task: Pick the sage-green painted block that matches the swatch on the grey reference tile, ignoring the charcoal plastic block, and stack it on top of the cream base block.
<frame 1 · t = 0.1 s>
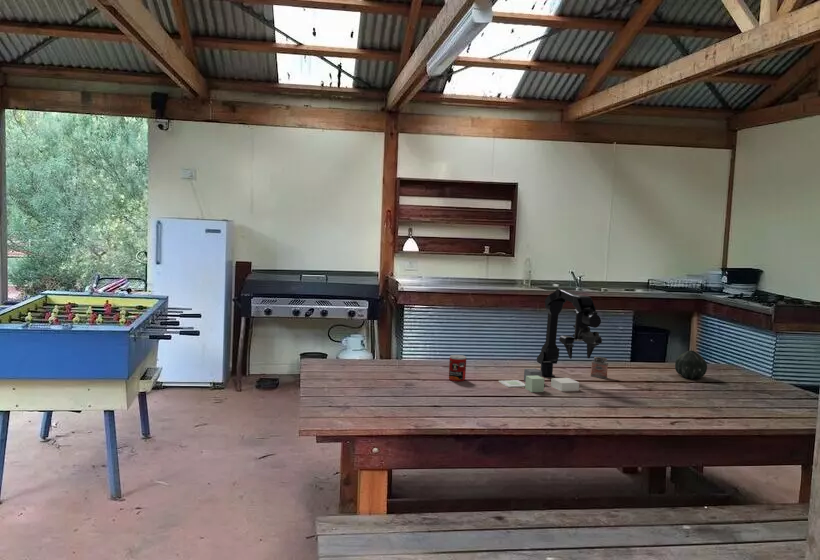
hand: (579, 358, 287), 15 cm above the table, fingers open, 9 cm apart
lighter: (598, 377, 318), on the table
sage block: (534, 390, 286), on the table
canned food: (456, 380, 299), on the table
reference tile: (513, 384, 295), on the table
charcoal block: (532, 382, 300), on the table
base block: (564, 389, 292), on the table
squash: (690, 377, 326), on the table
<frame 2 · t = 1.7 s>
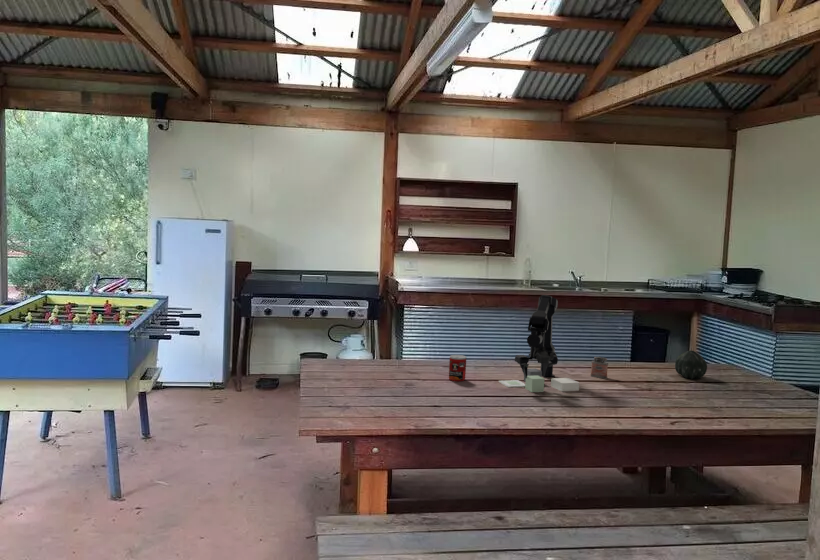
hand: (535, 377, 285), 6 cm above the table, fingers open, 9 cm apart
nothing on the table moved.
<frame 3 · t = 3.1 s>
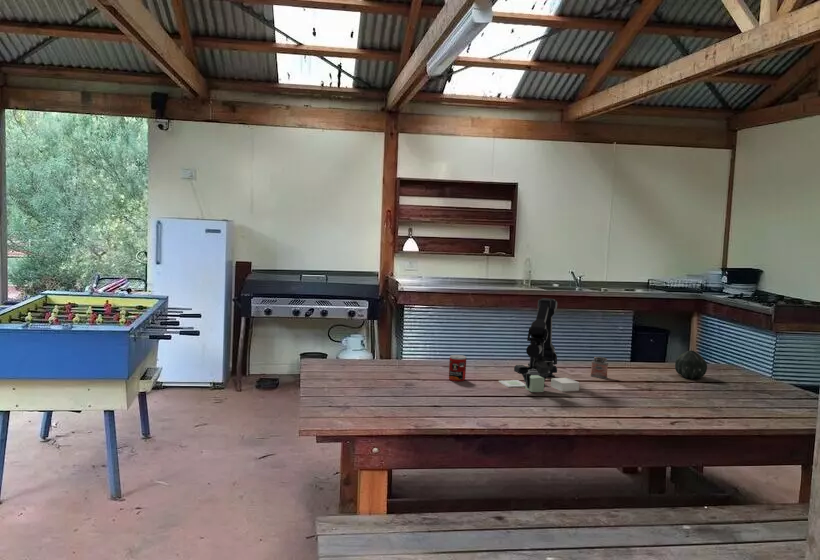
hand: (534, 387, 286), 1 cm above the table, fingers closed on sage block, 6 cm apart
sage block: (534, 390, 286), on the table, touching gripper
everything else where it was.
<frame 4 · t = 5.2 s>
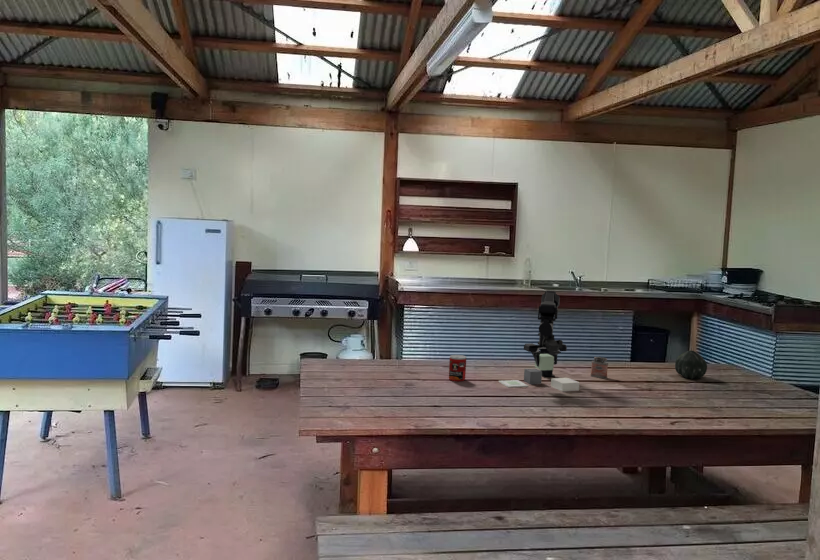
hand: (544, 366, 287), 11 cm above the table, fingers closed on sage block, 6 cm apart
sage block: (543, 368, 287), point 10 cm above the table, touching gripper
everything else where it was.
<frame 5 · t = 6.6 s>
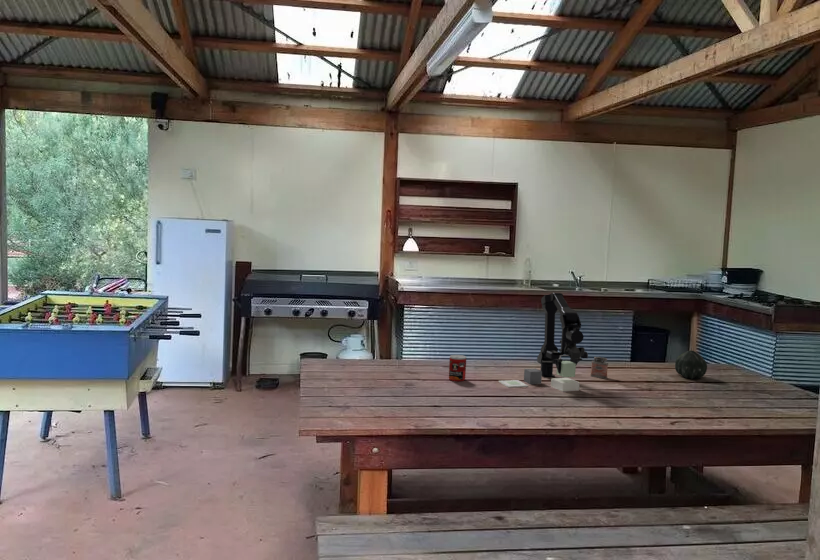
hand: (565, 373, 291), 7 cm above the table, fingers closed on sage block, 6 cm apart
sage block: (565, 375, 291), point 6 cm above the table, touching gripper
everything else where it was.
when the fingers open (6 cm above the table, at t = 7.5 s): sage block drops 2 cm, resting on base block.
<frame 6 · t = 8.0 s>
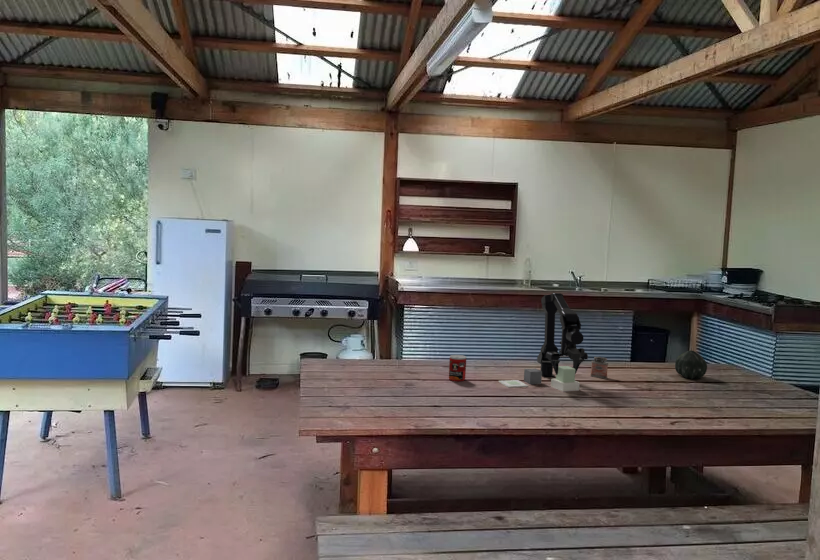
hand: (565, 374, 291), 6 cm above the table, fingers open, 9 cm apart
sage block: (565, 380, 291), point 4 cm above the table, touching base block
base block: (564, 389, 292), on the table, touching sage block
everything else where it was.
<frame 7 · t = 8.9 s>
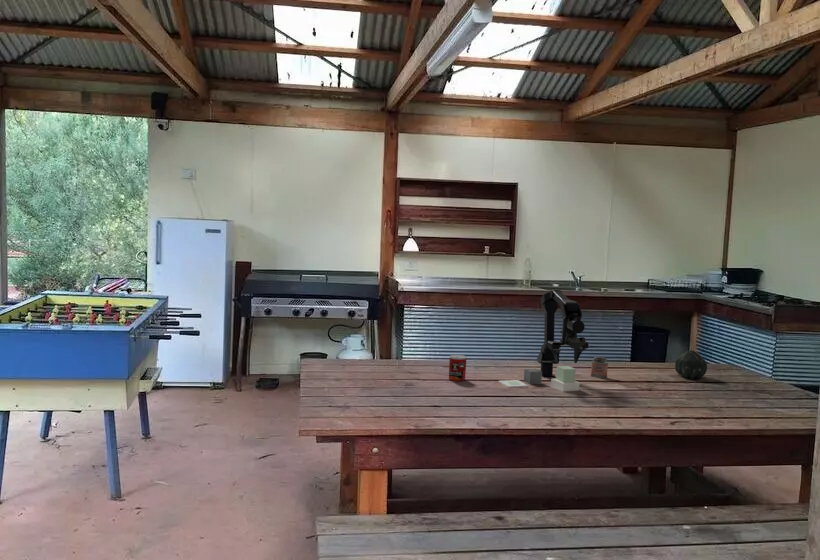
hand: (566, 363, 291), 11 cm above the table, fingers open, 9 cm apart
nothing on the table moved.
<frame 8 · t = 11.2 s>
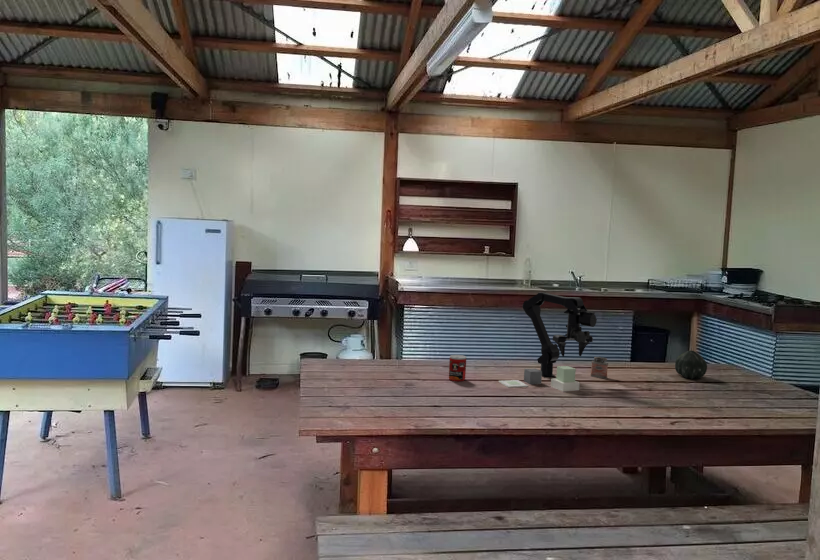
hand: (571, 356, 305), 12 cm above the table, fingers open, 9 cm apart
nothing on the table moved.
at the end: sage block 0.1 cm off-centre on the base block, point 4.0 cm above the base block's base; sage block tilted 0°; the gripper is holding nothing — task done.
